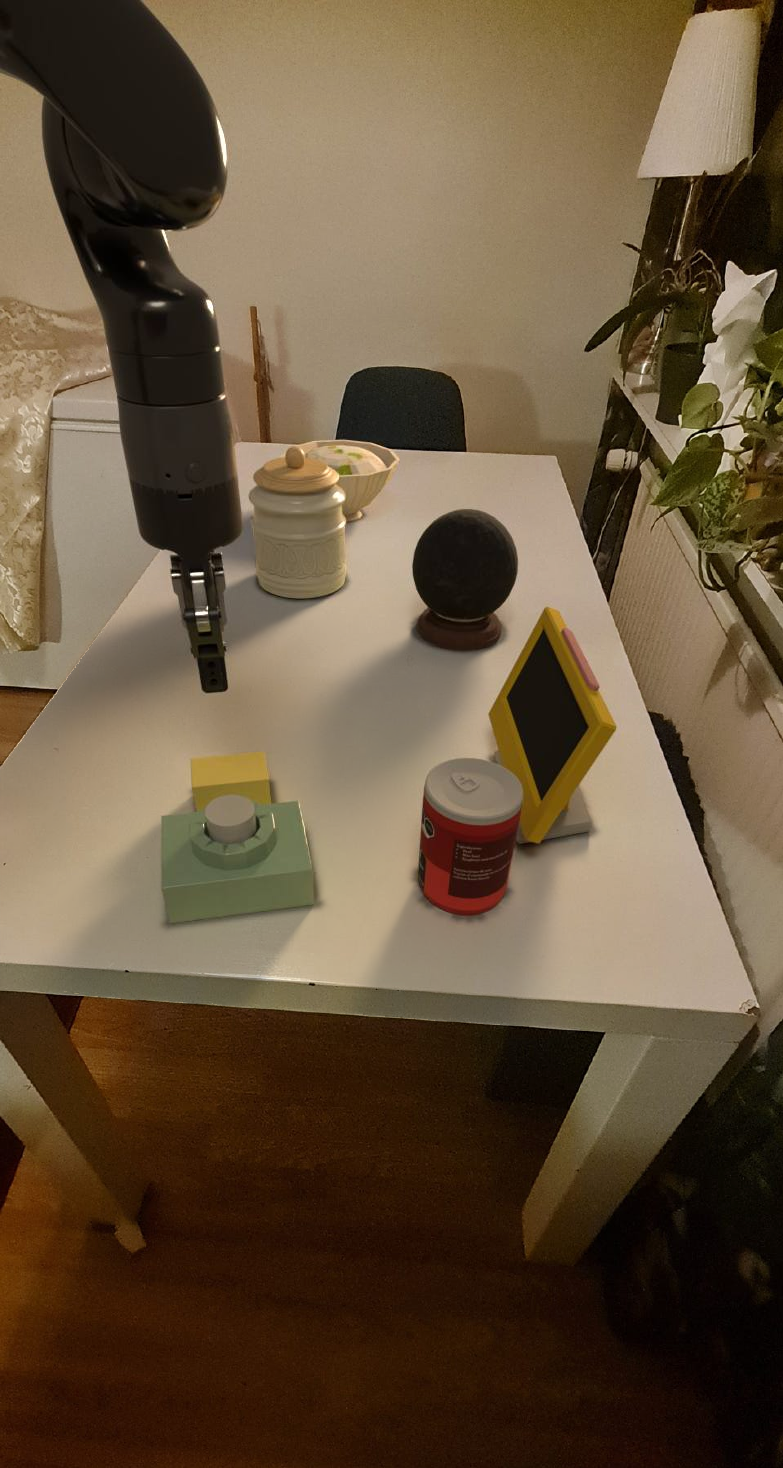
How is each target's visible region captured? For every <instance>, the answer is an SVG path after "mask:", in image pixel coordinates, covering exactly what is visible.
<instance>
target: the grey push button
mask: <svg viewBox="0 0 783 1468" xmlns="http://www.w3.org/2000/svg"><path fill="white" fill-rule="evenodd" d="M205 818H206V824H207V829H208V834H209V836H210V838H211V839H212V840H214V841H215V842H218V843H222V844H226V845H228V844H236V843H242V842H244V841H246V840H248V839H250V838H251V837H252V836H253V835H254V834H255V832H256V829H257V824H256V816H255V808H254V805H253V803H252V802H251V801H250V800H249V799H248V798H246V797H243V796H240V795H225V796H221V797H218V798H216V799H214V800H212V801H211V802H210V803H209V804H208V805H207V806H206V808H205Z"/></svg>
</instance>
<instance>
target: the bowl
mask: <svg viewBox="0 0 783 1468" xmlns="http://www.w3.org/2000/svg"><path fill="white" fill-rule="evenodd" d="M293 446H294V445H292V446H291V447H293ZM295 446H296V447H299V448H301V449H302V450H303V452H304V454H305V457H308V458H314V459H318V460H321V461H323V462H325V463H326V464H327V465H328V467H330V468H332V469H334V470H335V471H336V472H337V473H338V475H339V480H338V482H337V483H336V484H337V485H338V486H339V487H340V488H342V489H343V491H344V492H345V495H346V498H345V501H344V502H343V504H342V514H343V515H344V517H345V519H346V523H347V522H353V521H356V520H359V519H361V517H362V516H363V513H362V512H361V510H362V509H364V508H366V507H367V506H368V505H370V504H371V503H372V502H373V501H374V499H375V498H376V497H377V496H378V495H379V493H381V491H382V490H383V489H384V488H385V486H386V485H387V484H388V483H389V482H390V481H391V479H392V476H393V475H394V473H395V470H396V469H397V467H398V464H399V463H400V460H401V458H400V457H399V456H398V455H397V454H396V452H395V451H394V450H393V449H392V448H391V449H390V448H388V447H385V446H382V445H379V444H376V443H373V442H367V441H358V440H349V439H325V440H313V441H309V442H304V443H300V444H296V445H295ZM285 454H286V451H284V452H282V454H280V457H281V458H283V457H285Z"/></svg>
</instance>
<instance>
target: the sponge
mask: <svg viewBox="0 0 783 1468" xmlns="http://www.w3.org/2000/svg"><path fill="white" fill-rule="evenodd" d="M190 778H191V791H192V796H193V800H194V801H193V802H194V806H195V812H199V810H201V809H203V808H205V807H206V806H207V805H208V804H209V803H210V802H211V801H212V800H214V799H216V798H218V797H221V796H225V795H240V796H243V797H246V798H248V799H249V800H250V801H253V802H257V803H260V804H261V805H264V804H272V797H271V788H270V778H269V773H268V766H267V759H266V752H265V751H264V750H263V751H255V752H254V751H253V752H243V753H235V754H234V753H233V754H224V755H215V756H213V755H212V756H204V757H203V756H202V757H194V758H193V757H192V758H190Z"/></svg>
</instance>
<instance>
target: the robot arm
mask: <svg viewBox="0 0 783 1468" xmlns="http://www.w3.org/2000/svg"><path fill="white" fill-rule="evenodd" d="M0 74H3V75H5V76H8V77H10V78H13V79H16V80H17V81H20V82H22V83H24V84H26V86H29V87H30V88H32V89H34V91H36V92H37V93H38V94H39V95H40V96H42V103H41V104H42V105H41V139H42V148H43V154H44V160H45V164H46V169H47V173H48V176H49V181H50V185H51V188H52V191H53V194H54V198H55V200H56V204H57V206H58V209H59V212H60V215H61V217H62V220H63V223H64V225H65V228H66V231H67V233H68V235H69V238H70V241H71V244H72V246H73V250H74V252H75V255H76V257H77V260H78V263H79V265H80V267H81V270H82V273H83V275H84V278H85V280H86V283H87V285H88V287H89V289H90V291H91V293H92V297H93V298H94V301H95V302H96V305H97V308H98V310H99V312H100V315H101V319H102V323H103V329H104V330H103V331H104V336H105V341H106V342H105V343H106V345H107V347H106V348H107V352H108V357H109V362H110V368H111V373H112V378H113V379H112V380H113V383H114V388H115V393H116V401H117V409H118V424H119V434H120V440H121V445H122V451H123V456H124V460H125V465H126V470H127V476H128V481H129V485H130V492H131V497H132V502H133V507H134V512H135V517H136V523H137V527H138V532H139V535H140V537H141V539H142V540H143V541H144V542H145V543H147V544H148V545H150V546H151V547H153V548H155V549H157V550H161V551H165V550H166V551H169V552H171V553H174V554H170V555H169V558H170V566H171V567H170V569H169V571H170V580H171V585H172V591H173V593H174V594H175V595H176V597H177V599H178V605H179V606H178V607H179V610H180V618H181V623H182V627H183V628H184V629H186V630H187V634H188V637H189V638H188V639H189V643H190V647H189V648H190V654H191V655H192V656H193V659H194V660H195V659H196V663H197V669H198V675H199V682H200V688H201V691H202V692H203V693H205V694H217V693H224V692H227V691H228V689H229V682H228V674H227V667H226V666H227V665H226V659H225V657H226V652H227V645H226V641H224V637H223V636H224V634H223V633H225V627H226V626H227V624H228V619H227V611H226V610H227V609H226V603H225V595H224V593H225V591H226V590H227V584H226V577H225V576H226V575H225V568H224V560H223V552H222V551H219V552H215V550H217V549H219V548H224V547H227V546H229V545H231V544H232V543H234V542H235V541H237V540H238V539H239V538H240V537H241V534H242V533H243V529H244V524H243V514H242V513H243V512H242V503H241V496H240V484H239V476H238V475H239V474H238V466H237V465H238V464H237V456H236V447H235V436H234V430H233V425H232V420H231V416H230V412H229V407H228V402H227V401H228V400H227V396H226V387H225V378H224V377H225V376H224V369H223V358H222V357H223V356H222V348H221V340H220V333H219V332H220V331H219V325H218V318H217V315H216V314H217V313H216V308H215V306H214V303H213V300H212V298H211V296H210V295H209V293H208V292H207V291H206V290H205V289H204V288H203V287H202V286H200V285H199V284H198V283H196V282H194V280H192V279H190V278H189V277H187V276H186V275H185V274H184V273H182V271H181V269H180V268H179V266H178V265H177V263H176V261H175V258H174V256H173V253H172V250H171V247H170V244H169V241H168V237H167V234H166V232H185V231H190V230H194V229H196V228H198V227H201V226H203V225H204V224H205V223H207V222H208V221H209V220H210V219H211V218H212V217H213V216H214V215H215V214H216V212H217V211H218V210H219V207H220V205H221V203H222V201H223V199H224V196H225V193H226V189H227V183H228V175H229V157H228V156H229V155H228V147H227V142H226V137H225V132H224V127H223V124H222V121H221V117H220V115H219V112H218V109H217V106H216V104H215V102H214V100H213V97H212V94H211V93H210V91H209V88H208V86H207V85H206V83H205V81H204V79H203V77H202V76H201V74H200V73H199V71H198V70H197V67H196V66H195V65H194V62H193V61H192V60H191V59H190V57H189V56H188V55H187V53H186V52H185V50H184V49H183V48H182V46H181V45H180V43H179V42H178V41H177V39H176V38H175V37H174V36H173V34H171V33H170V31H169V30H168V29H167V28H166V26H165V25H164V24H163V23H162V22H161V21H160V20H159V19H158V17H157V16H156V15H155V14H154V13H153V11H151V9H150V8H149V7H148V6H147V5H146V4H145V2H144V1H143V0H0Z"/></svg>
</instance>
